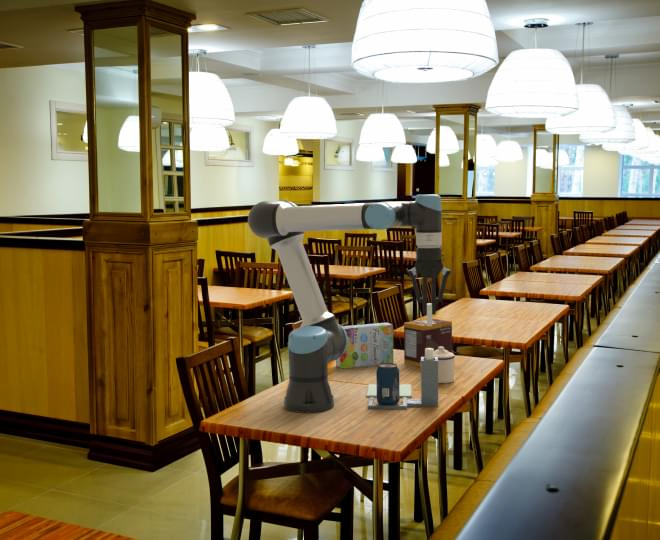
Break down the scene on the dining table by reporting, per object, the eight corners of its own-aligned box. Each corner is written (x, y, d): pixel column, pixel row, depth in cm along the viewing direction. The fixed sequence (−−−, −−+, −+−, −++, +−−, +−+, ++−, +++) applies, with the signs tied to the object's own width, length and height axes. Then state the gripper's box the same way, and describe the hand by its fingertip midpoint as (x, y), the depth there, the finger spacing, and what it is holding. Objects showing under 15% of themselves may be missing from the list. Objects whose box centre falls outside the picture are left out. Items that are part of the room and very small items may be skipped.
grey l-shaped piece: (370, 400, 235) (369, 355, 234) (437, 401, 233) (437, 356, 232) (368, 408, 226) (367, 362, 225) (438, 409, 224) (438, 363, 222)
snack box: (388, 361, 289) (387, 321, 287) (393, 364, 284) (393, 324, 282) (335, 366, 282) (334, 326, 281) (340, 369, 277) (339, 328, 276)
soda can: (379, 400, 235) (379, 362, 234) (401, 401, 233) (401, 363, 232) (374, 406, 229) (373, 367, 228) (397, 407, 227) (396, 368, 226)
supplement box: (452, 361, 286) (452, 320, 284) (423, 368, 277) (422, 325, 275) (433, 357, 294) (432, 317, 292) (403, 363, 285) (403, 322, 283)
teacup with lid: (458, 379, 260) (458, 345, 258) (449, 385, 252) (449, 350, 250) (425, 375, 265) (425, 342, 264) (415, 381, 257) (415, 347, 256)
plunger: (424, 367, 230) (424, 348, 229) (433, 367, 230) (433, 348, 229) (425, 369, 228) (425, 349, 227) (433, 369, 227) (433, 349, 227)
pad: (368, 385, 253) (368, 384, 253) (411, 386, 251) (411, 384, 251) (366, 397, 239) (366, 395, 239) (411, 397, 237) (411, 395, 237)
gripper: (406, 247, 222) (407, 327, 224) (451, 247, 220) (452, 327, 223) (406, 246, 229) (407, 323, 232) (450, 245, 228) (450, 323, 230)
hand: (429, 325), depth 227 cm, fingers closed
